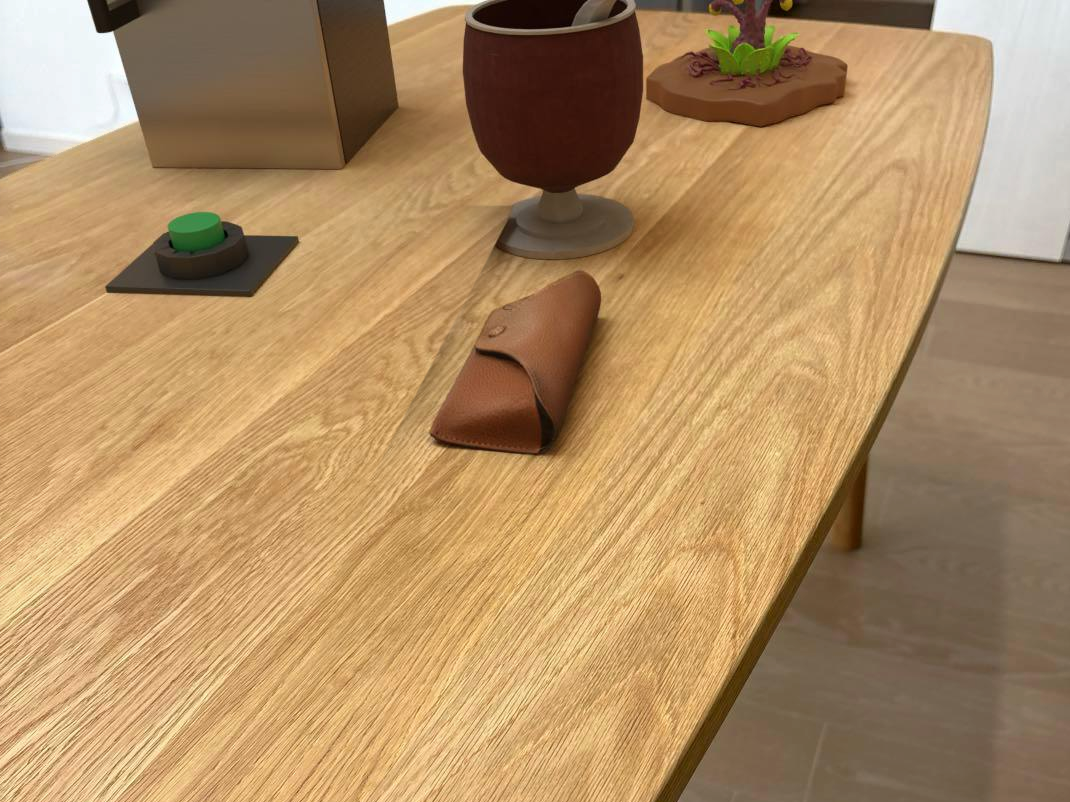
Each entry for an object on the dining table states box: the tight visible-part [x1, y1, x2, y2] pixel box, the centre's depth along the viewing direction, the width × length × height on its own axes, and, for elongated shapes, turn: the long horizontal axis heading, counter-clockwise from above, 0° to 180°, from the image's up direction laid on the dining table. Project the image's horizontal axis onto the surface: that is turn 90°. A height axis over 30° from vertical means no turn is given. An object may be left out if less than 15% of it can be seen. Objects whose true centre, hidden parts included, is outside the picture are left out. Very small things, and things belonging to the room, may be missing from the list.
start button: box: [167, 211, 225, 251], centre depth 83 cm, size 4×4×2 cm
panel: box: [105, 220, 300, 298], centre depth 85 cm, size 12×10×4 cm
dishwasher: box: [316, 0, 400, 166], centre depth 107 cm, size 18×20×24 cm
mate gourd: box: [462, 0, 644, 260], centre depth 84 cm, size 16×14×20 cm
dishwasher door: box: [86, 0, 346, 170], centre depth 97 cm, size 7×20×24 cm, turn 79°
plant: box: [645, 0, 849, 128], centre depth 112 cm, size 20×20×11 cm
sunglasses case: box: [428, 269, 602, 455], centre depth 70 cm, size 18×7×7 cm, turn 169°
